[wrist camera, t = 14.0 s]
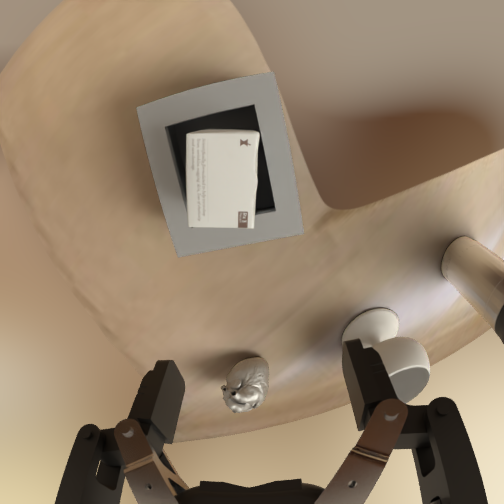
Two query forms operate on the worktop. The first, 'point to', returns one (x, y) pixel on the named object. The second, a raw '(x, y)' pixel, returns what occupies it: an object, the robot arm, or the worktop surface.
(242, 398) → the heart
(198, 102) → the open gray box
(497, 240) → the worktop surface
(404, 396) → the chalice
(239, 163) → the skincare box
